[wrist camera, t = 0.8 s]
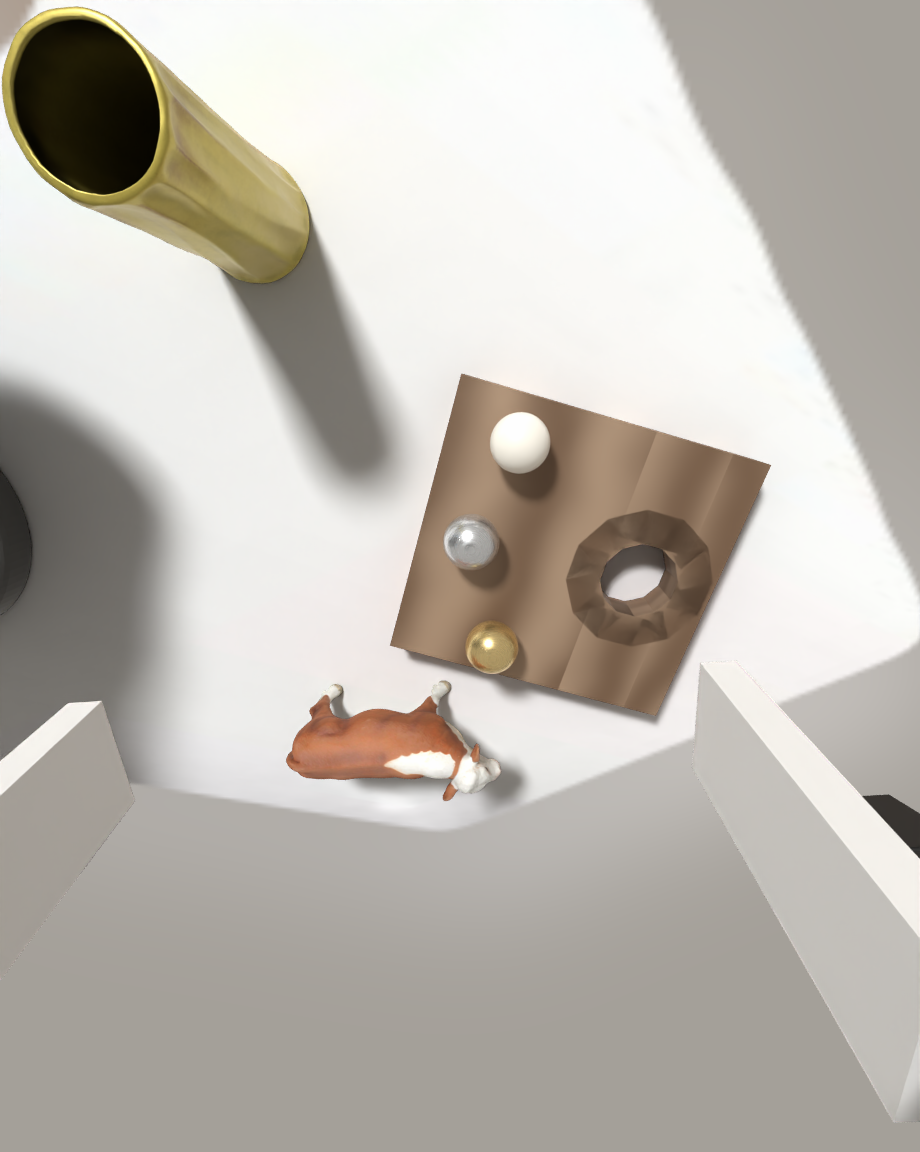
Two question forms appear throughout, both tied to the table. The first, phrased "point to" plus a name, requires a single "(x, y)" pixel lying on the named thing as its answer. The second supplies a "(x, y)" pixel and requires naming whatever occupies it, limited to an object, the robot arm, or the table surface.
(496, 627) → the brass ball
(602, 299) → the table surface
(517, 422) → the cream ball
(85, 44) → the vase
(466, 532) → the steel ball
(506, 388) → the board
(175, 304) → the table surface
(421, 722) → the bull figurine
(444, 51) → the table surface
